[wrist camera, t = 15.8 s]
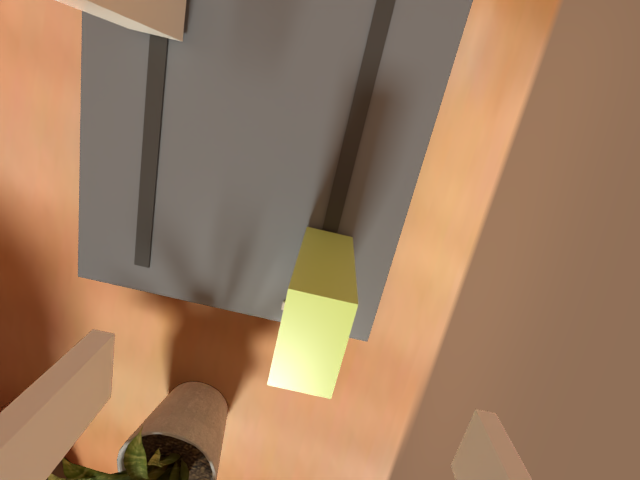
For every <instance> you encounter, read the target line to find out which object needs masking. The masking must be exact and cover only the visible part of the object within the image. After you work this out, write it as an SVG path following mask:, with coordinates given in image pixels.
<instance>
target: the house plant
mask: <svg viewBox="0 0 640 480" xmlns="http://www.w3.org/2000/svg"><path fill="white" fill-rule="evenodd" d="M227 411H228V407H227V403H226V400H225V399H224V397H223V396H222V394H221V393H220V392H219V391H218V390H217V389H215V388H213V387H212V386H210V385H208V384H205V383H202V382H186V383H183V384H180V385H178V386H177V387H176V388H174V389H173V390H172V391H171V392H170V394H169V395H168V396H167V397H166V398H165V399H164V400H163V401H162V402H161V403H160V404H159V406H158V407H157V408H156V409H155V410H154V411H153V412H152V413H151V414H150V415H149V417H148V418H147V419H146V420H145V421H144V422H143V423H142V424H141V425H140V426H139V428H138V429H137V430H136V431H135V432H134V433H133V434H132V435H131V436H130V437H129V439H128V440H127V441H126V442H125V443H124V445H123V446H122V447H121V449H120V450H119V454H118V458H117V465H118V471H119V472H118V473H114V474H107V473H103V472H99V471H96V470H93V469H90V468H86V467H83V466H80V465H76V464H72V463H70V462H69V461H68V460H66V459H65V458H64V457H63V459H62V462H63V470H64V475H65V476H66V477H67V479H64V478H59V477H57V476H55V475H53V474H50V475H49V477H48V480H216V479H217V473H218V467H219V461H220V455H221V449H222V443H223V437H224V431H225V425H226V419H227Z"/></svg>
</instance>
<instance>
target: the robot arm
mask: <svg viewBox="0 0 640 480" xmlns="http://www.w3.org/2000/svg"><path fill="white" fill-rule="evenodd" d="M114 340H115V334H114V333H109V332H104V331H99V330H94V329H93V330H92V331H90V332H89V333H88V334H87V335H86V336H85V337H84V338H83V339H82V340H80V341H79V342H78V343H77V344H76V345H75V346H74V347H73V348H72V349H70V350H69V351H68V352H67V353H66V354H65V355H64V356H63V357H61V358H60V359H59V360H58V361H57V362H56V363H55V364H54V365H53V366H51V367H50V368H49V369H48V370H47V371H46V372H45V373H44V374H43V375H41V376H40V377H39V378H38V379H37V380H36V381H35V382H34V383H33V384H31V385H30V386H29V387H28V388H27V389H26V390H25V391H24V392H23V393H21V394H20V395H19V396H18V397H17V398H16V399H15V400H14V401H13V402H11V403H10V404H9V405H8V406H7V407H6V408H5V409H4V410H2V411H1V412H0V480H48V477H49V475H50V474H53V475H55V476H57V477H59V478H64V479H67V477H66V476H65V475H64V470H63V462H62V459H63V457H64V456H65V455H66V454H67V452H68V451H69V450H70V448H71V447H72V446H73V445H74V443H75V442H76V441H77V440H78V438H79V437H80V436H81V434H82V433H83V432H84V431H85V429H86V428H87V427H88V426H89V424H90V423H91V422H92V420H93V419H94V418H95V417H96V415H97V414H98V413H99V411H100V410H101V409H102V408H103V406H104V405H105V404H106V403H107V401H108V400H109V399H110V397H111V389H112V373H113V357H114ZM451 467H452V470H453V473H454V476H455V479H456V480H532V479H531V477H530V475H529V473H528V471H527V470H526V468H525V466H524V464H523V462H522V460H521V459H520V457H519V455H518V453H517V451H516V449H515V448H514V446H513V444H512V442H511V440H510V439H509V437H508V435H507V433H506V431H505V429H504V427H503V426H502V424H501V422H500V420H499V418H498V417H497V414H496V413H492V412H487V411H482V410H478V409H476V410H475V412H474V414H473V416H472V418H471V421H470V423H469V425H468V428H467V430H466V432H465V435H464V437H463V439H462V441H461V444H460V446H459V448H458V450H457V453H456V455H455V457H454V460H453V462H452V464H451Z"/></svg>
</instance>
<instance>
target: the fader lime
mask: <svg viewBox="0 0 640 480" xmlns="http://www.w3.org/2000/svg"><path fill="white" fill-rule="evenodd" d="M357 308H358V294H357V282H356V271H355V259H354V247H353V237H350V236H345V235H341V234H337V233H332V232H328V231H324V230H319V229H315V228H311V227H307V228H306V231H305V234H304V238H303V241H302V244H301V248H300V251H299V254H298V258H297V261H296V264H295V267H294V271H293V274H292V277H291V281H290V284H289V287H288V291H287V296H286V300H285V305H284V310H283V314H282V319H281V323H280V328H279V333H278V337H277V342H276V346H275V351H274V356H273V360H272V365H271V369H270V374H269V379H268V383H267V385H270V386H274V387H279V388H283V389H288V390H292V391H297V392H301V393H306V394H310V395H315V396H319V397H324V398H328V399H331V398H332V394H333V391H334V387H335V384H336V380H337V377H338V373H339V370H340V366H341V363H342V360H343V356H344V353H345V349H346V346H347V342H348V339H349V335H350V332H351V328H352V325H353V322H354V318H355V315H356V311H357Z"/></svg>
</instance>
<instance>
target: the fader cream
mask: <svg viewBox="0 0 640 480" xmlns="http://www.w3.org/2000/svg"><path fill="white" fill-rule="evenodd" d="M55 1H58V2H61V3H63V4H66V5H68V6H71V7H74V8H76V9H79V10H81V11H84V12H87V13H89V14H92V15H94V16H97V17H100V18H102V19H105V20H107V21H110V22H113V23H115V24H118V25H120V26H123V27H126V28H128V29H132V30H136V31H140V32H144V33H148V34H153V35H157V36H161V37H165V38H169V39H173V40H178V41H182V42H183V31H184V21H185V10H186V0H55Z"/></svg>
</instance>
